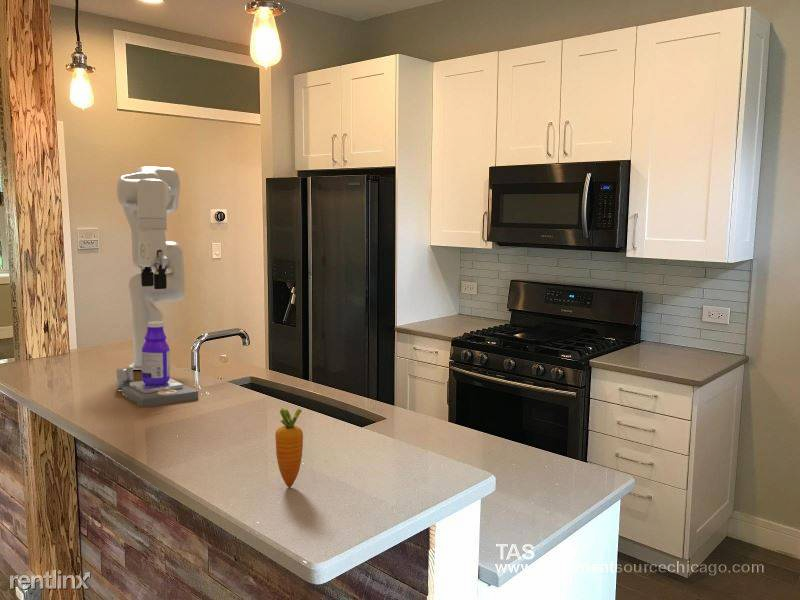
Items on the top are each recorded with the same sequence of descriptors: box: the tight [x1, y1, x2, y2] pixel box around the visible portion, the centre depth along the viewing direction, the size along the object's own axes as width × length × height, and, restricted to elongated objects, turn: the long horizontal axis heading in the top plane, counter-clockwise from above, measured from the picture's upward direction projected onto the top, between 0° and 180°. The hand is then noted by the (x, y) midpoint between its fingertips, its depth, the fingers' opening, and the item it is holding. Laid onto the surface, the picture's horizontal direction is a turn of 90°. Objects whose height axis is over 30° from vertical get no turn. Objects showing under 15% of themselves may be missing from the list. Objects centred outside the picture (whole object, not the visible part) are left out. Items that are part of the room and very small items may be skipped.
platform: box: [130, 377, 184, 394], centre depth 187 cm, size 11×11×1 cm
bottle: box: [141, 321, 171, 385], centre depth 187 cm, size 7×6×17 cm
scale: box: [121, 379, 199, 409], centre depth 186 cm, size 17×15×3 cm
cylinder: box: [115, 366, 134, 390], centre depth 192 cm, size 4×4×6 cm
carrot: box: [275, 407, 304, 488], centre depth 122 cm, size 5×5×15 cm
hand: (153, 287), depth 184 cm, fingers open, 9 cm apart
